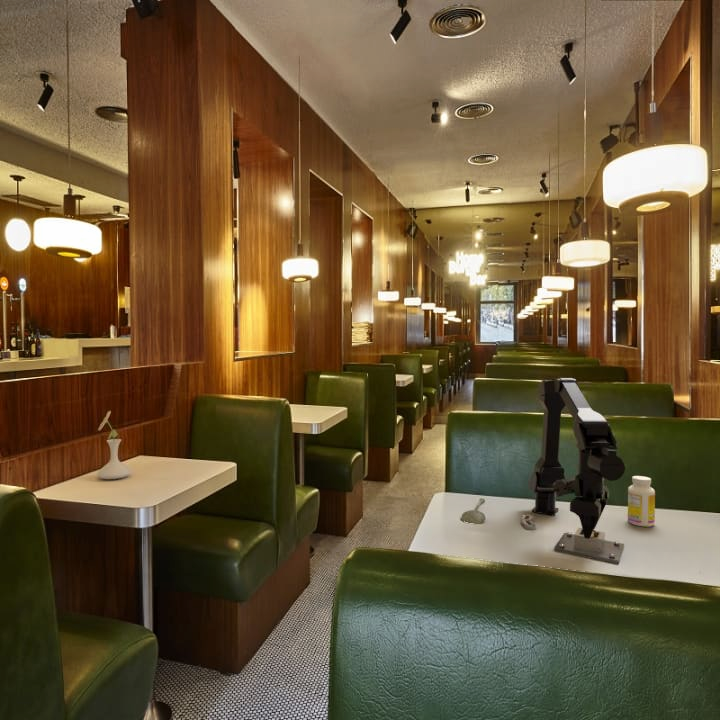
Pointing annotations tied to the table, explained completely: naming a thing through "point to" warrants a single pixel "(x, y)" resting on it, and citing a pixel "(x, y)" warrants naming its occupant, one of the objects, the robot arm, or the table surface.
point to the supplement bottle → (641, 502)
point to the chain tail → (528, 522)
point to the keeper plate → (608, 553)
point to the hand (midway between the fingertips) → (589, 533)
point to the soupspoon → (474, 515)
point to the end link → (589, 540)
